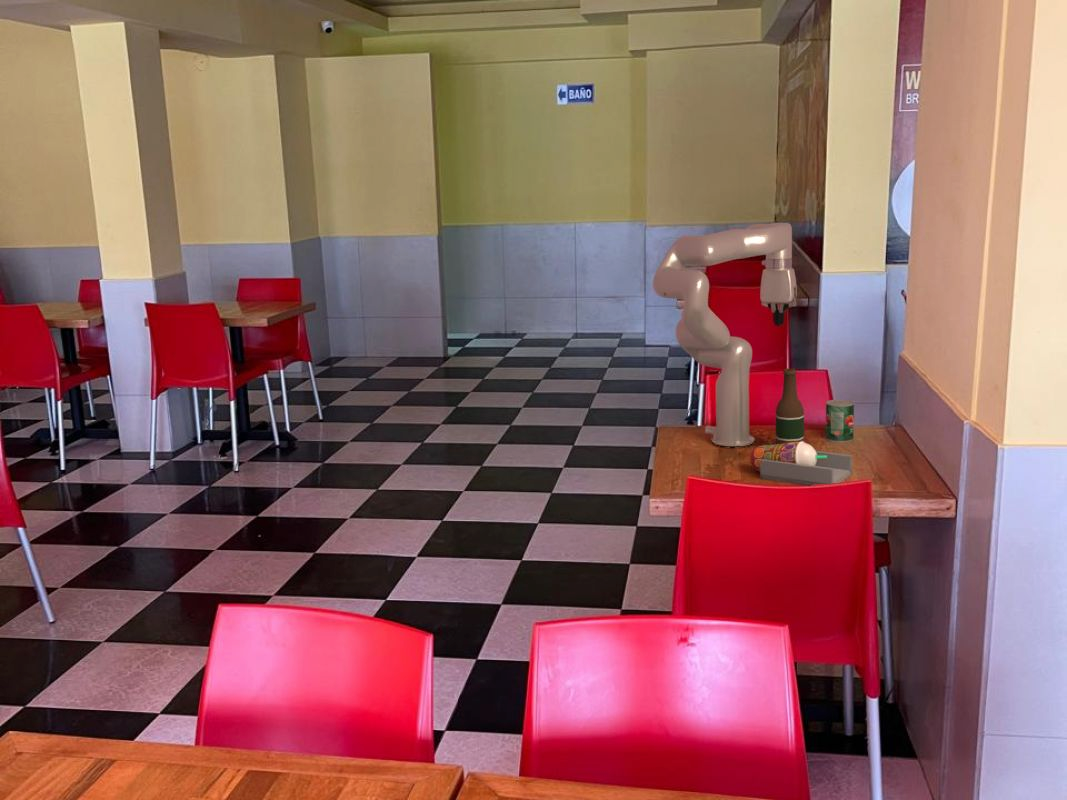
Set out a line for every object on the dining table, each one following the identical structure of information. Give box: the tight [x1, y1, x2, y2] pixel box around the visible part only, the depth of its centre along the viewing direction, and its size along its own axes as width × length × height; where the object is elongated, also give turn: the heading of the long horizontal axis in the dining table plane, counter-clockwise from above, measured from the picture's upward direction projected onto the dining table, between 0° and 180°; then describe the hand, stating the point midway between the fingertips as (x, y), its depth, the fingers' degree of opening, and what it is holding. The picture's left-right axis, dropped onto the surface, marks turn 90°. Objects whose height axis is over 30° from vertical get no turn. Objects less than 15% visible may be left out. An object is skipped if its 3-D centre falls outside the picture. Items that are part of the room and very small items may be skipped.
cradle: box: [759, 450, 853, 486], centre depth 263 cm, size 19×14×5 cm
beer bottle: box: [775, 368, 805, 444], centre depth 283 cm, size 8×8×24 cm
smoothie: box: [750, 441, 827, 472], centre depth 263 cm, size 8×8×20 cm
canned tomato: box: [825, 399, 855, 443], centre depth 295 cm, size 8×8×11 cm
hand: (778, 325), depth 306 cm, fingers closed
